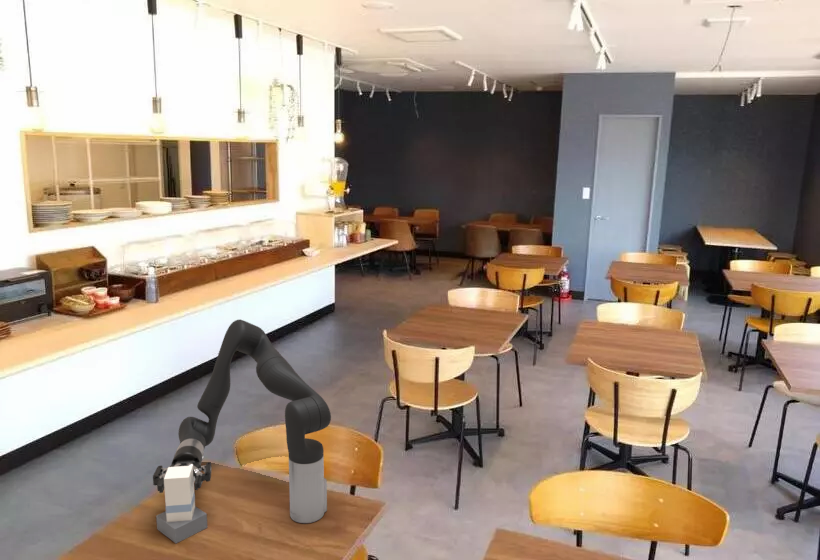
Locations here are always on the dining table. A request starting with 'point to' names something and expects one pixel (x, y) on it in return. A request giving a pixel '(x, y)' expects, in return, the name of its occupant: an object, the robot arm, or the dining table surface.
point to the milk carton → (179, 493)
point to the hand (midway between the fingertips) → (178, 488)
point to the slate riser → (182, 526)
